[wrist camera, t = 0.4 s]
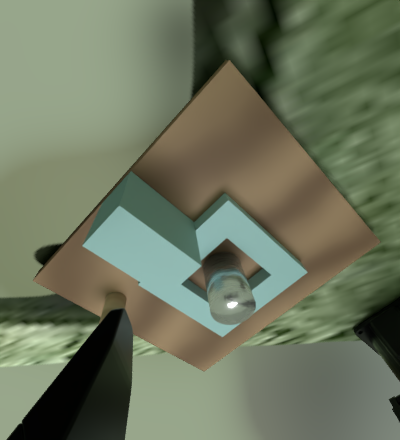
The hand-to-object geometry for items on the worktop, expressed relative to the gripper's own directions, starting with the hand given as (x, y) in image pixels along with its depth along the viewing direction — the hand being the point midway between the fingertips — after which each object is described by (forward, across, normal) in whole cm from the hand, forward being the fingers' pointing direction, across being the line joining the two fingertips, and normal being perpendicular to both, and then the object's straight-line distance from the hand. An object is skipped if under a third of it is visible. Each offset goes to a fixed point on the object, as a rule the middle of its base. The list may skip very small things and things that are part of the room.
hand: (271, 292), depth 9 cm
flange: (+11, +2, +6) cm, 13 cm away
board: (+12, +1, +7) cm, 14 cm away
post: (+11, +1, +8) cm, 14 cm away
